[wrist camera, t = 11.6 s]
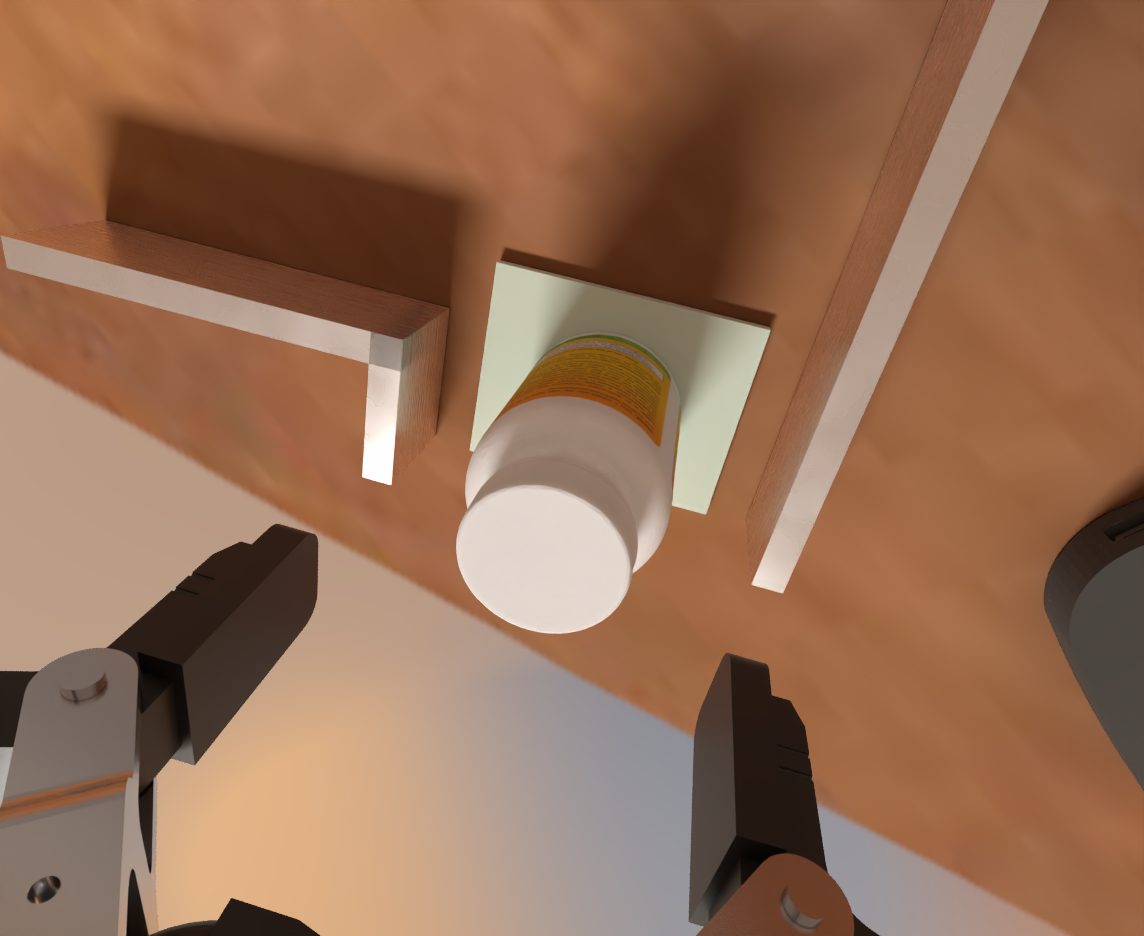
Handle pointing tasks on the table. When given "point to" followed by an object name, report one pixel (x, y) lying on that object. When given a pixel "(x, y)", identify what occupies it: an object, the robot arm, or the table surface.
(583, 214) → the table surface
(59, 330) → the table surface
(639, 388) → the supplement bottle
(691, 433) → the pad
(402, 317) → the channel
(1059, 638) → the media streaming box
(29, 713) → the robot arm
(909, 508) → the table surface
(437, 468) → the table surface
